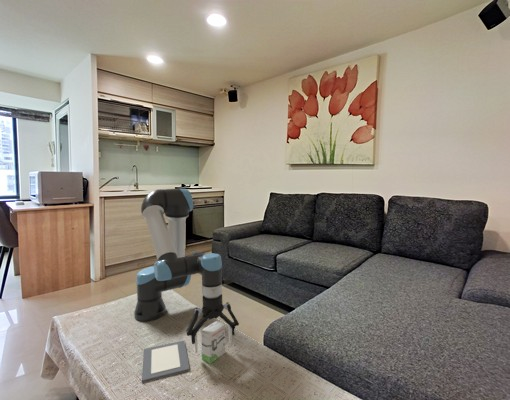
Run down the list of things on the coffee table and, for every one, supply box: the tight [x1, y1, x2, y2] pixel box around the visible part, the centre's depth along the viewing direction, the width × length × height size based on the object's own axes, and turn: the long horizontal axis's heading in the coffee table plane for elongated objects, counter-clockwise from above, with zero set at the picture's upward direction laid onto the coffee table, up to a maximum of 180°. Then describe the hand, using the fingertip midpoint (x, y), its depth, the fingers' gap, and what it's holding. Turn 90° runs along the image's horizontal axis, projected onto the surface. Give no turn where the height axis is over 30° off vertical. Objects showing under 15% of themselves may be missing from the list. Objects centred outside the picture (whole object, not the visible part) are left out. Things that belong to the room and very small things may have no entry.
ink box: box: [200, 320, 226, 364], centre depth 106 cm, size 9×5×12 cm, turn 143°
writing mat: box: [141, 340, 190, 383], centre depth 104 cm, size 18×16×1 cm
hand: (213, 346), depth 106 cm, fingers open, 13 cm apart
